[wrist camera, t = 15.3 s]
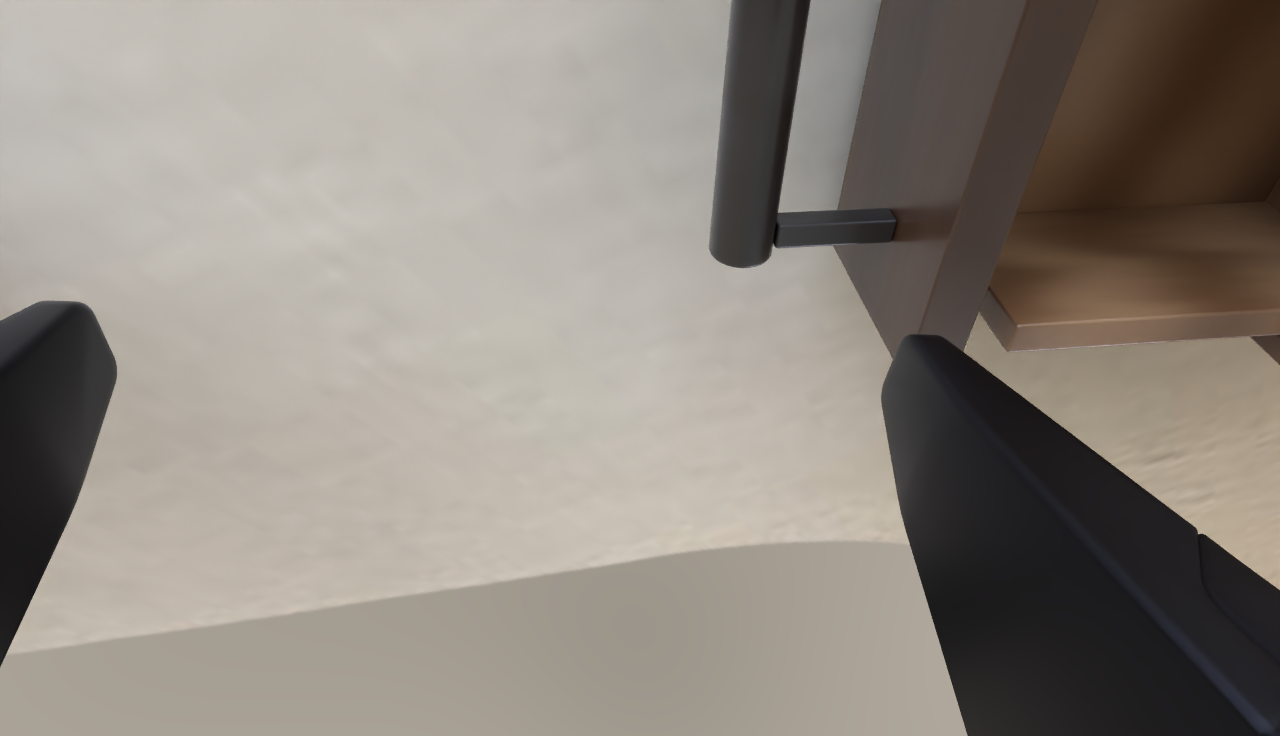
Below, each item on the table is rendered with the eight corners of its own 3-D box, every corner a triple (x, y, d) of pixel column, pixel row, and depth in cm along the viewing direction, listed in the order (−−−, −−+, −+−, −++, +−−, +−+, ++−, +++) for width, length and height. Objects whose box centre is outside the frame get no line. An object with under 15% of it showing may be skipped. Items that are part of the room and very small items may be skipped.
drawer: (682, 249, 22) (722, 393, 17) (716, -274, 14) (800, -239, 10) (1241, 220, 23) (1399, 346, 19) (1533, -261, 16) (1892, -226, 12)
